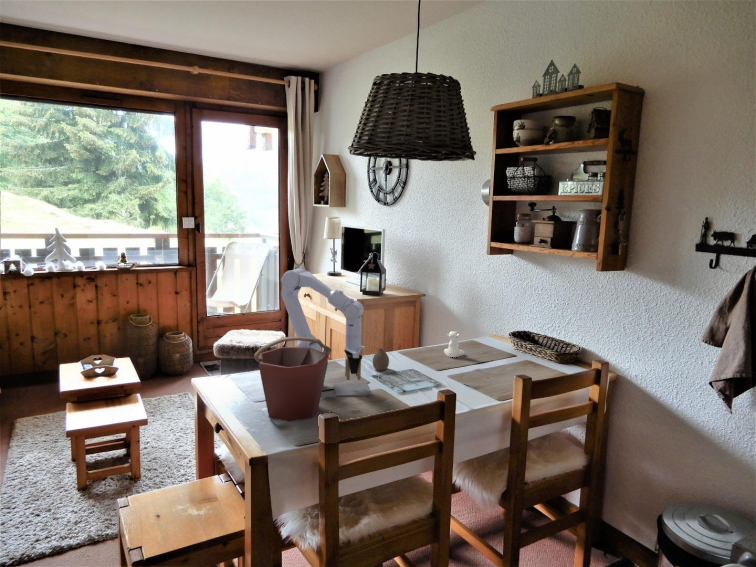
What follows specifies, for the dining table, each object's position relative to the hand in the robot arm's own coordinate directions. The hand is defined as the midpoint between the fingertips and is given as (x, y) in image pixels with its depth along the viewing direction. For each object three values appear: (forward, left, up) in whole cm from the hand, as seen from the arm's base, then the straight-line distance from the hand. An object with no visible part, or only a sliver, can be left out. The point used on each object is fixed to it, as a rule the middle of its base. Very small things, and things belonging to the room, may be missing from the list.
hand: (352, 371), depth 187 cm
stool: (0, 0, -2) cm, 3 cm away
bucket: (-22, -16, -8) cm, 28 cm away
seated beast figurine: (+52, +37, -8) cm, 64 cm away
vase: (+15, +22, -8) cm, 28 cm away
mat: (0, 0, -7) cm, 7 cm away
